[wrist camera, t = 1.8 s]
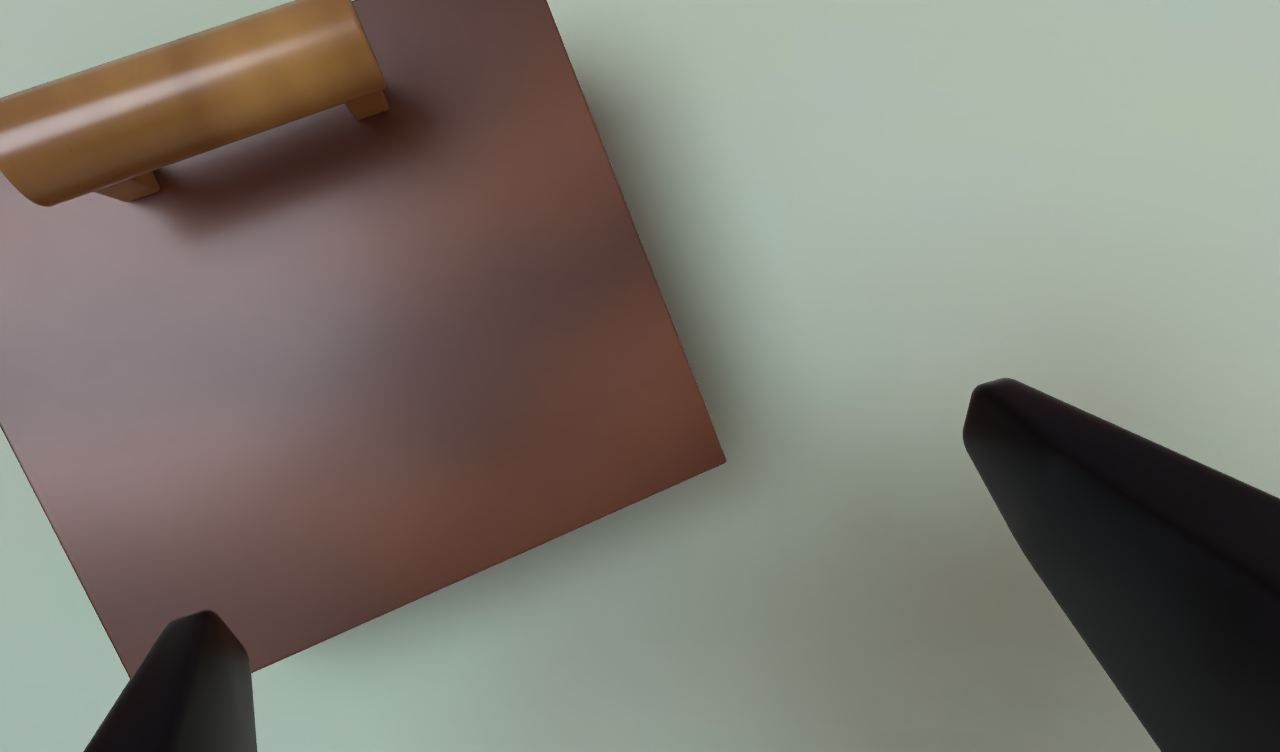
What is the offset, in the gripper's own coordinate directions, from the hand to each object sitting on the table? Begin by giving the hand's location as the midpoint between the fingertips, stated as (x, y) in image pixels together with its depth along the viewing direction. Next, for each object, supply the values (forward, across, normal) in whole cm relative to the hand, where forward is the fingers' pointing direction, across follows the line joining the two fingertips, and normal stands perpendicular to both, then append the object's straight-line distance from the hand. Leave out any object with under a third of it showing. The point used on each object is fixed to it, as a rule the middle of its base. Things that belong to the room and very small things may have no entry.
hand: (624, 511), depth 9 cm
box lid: (+9, +4, +2) cm, 10 cm away
